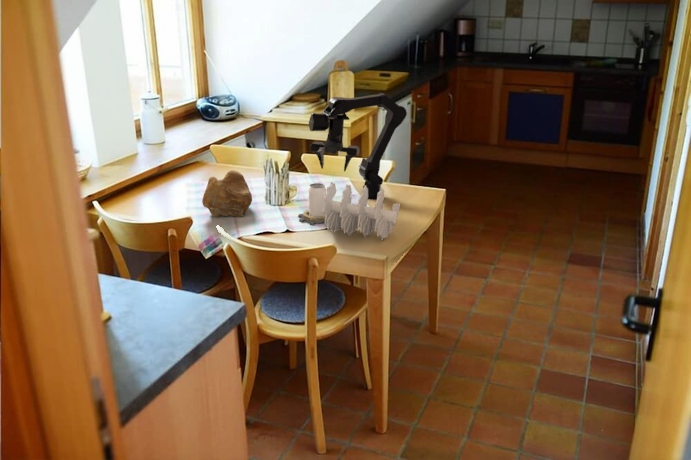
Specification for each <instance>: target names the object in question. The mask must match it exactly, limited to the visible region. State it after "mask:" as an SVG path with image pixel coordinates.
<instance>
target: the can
mask: <svg viewBox="0 0 691 460" xmlns="http://www.w3.org/2000/svg"><path fill="white" fill-rule="evenodd" d="M325 185H326V184H324V183H321V182H318V183H317V182H315V183H311V184H309V188H308V210H309V216H312V217H322V216H325V213H324V212H323V210H324V206H325V201H324V198H325V196H326V194H327V188H326V186H325Z"/></svg>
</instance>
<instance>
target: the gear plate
mask: <svg viewBox="0 0 691 460" xmlns="http://www.w3.org/2000/svg"><path fill="white" fill-rule="evenodd" d="M298 218H299V220H298V222H300V223H307V224H309V225H310V226H311V225H312V226H315V225H320V224H321V225H323V224H324V225H326V224H325V216H322V217H312V216H309V209H306V210H304V211H303V213H299V214H298Z"/></svg>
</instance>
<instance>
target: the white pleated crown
mask: <svg viewBox="0 0 691 460" xmlns="http://www.w3.org/2000/svg"><path fill="white" fill-rule="evenodd" d="M351 186H352V185H351V184H347V183H346V185H345V188H344V189H343V190H342V198H341V200H340V201H337V200H333V199H334V197H335V195H336V194H337V188H336V187H337V186H336V182H335V183H334V182H333V181H330V185H328V186H327V188H326V196H325V198H324V201H325V206H324V210H323V212H324V213H325V224H324V225H326V228H327V231H329V230H330V231H331V233H332V234H334V233H335V231H340V228H341V229H342V230H343V234H347V235H348V236H350V237H351V235H352V234H353V233H355V232H357V230H358V229H359V233H362V234H363V237H364V238H366V237H367V236H372V235H371V234H372V233H374V232H376V237H379V238H380V240H381V241H384V239H386V238H388V236H389V235H390V234H391V233H392V231H393V229H394V227H395V226H396V222H397V219H398V216H399V214H400V206H401V203H393V204H392V207H391V209H390V210H389V209H384V204H385V203H384V200H385V190H384V189H383V187H381V188H380V192H378V193H377V199H376V201H375V203H374V206H375V207H371V206H368V205H367V204H368V200H369V198H368V188H367V187H366V185H364V184H363V186H364V189H363V188H361V189H360V196H359V197H358V204H355V203H352V199H353V198H352V194H353V192H352V187H351Z"/></svg>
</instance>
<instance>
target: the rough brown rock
mask: <svg viewBox="0 0 691 460" xmlns="http://www.w3.org/2000/svg"><path fill="white" fill-rule="evenodd" d="M252 202H253V196H252V193H251V191H250V188H249V185H248V183H247V181H246V180H245V178H244V175H243V174H242V173H241V172H239V171H237V170H228V172H227V173H226V174H225V175H224V178H222V179H219V180H218V178H217V177H215V176H210V177H209V178H208V181H207V185H206V188H205V191H204V192H203V196H202V206H203V207H204V208H207V209H208V211H209V213H210V215H211V216H212V217H214V218H217V217H220V216H223V217H225V216H227V217H228V216H233V217H235V218H242V217H243V216H244V215H245V214H246V213H247V211H248V209H249V208H250V206H251V204H252Z"/></svg>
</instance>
